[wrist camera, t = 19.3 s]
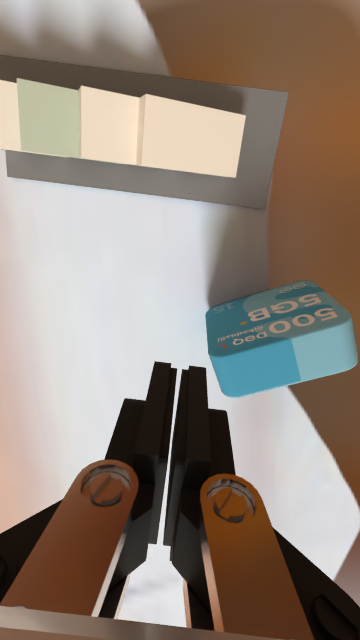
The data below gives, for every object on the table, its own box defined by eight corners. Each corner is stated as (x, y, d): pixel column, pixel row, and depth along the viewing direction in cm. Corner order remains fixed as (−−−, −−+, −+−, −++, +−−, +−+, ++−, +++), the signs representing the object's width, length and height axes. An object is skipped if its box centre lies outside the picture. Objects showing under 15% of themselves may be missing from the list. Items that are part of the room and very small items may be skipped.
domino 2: (124, 164, 33) (22, 150, 29) (126, 104, 31) (18, 83, 27) (128, 164, 31) (21, 150, 28) (131, 101, 29) (16, 77, 26)
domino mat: (10, 176, 34) (7, 176, 34) (1, 56, 30) (-2, 54, 30) (263, 208, 34) (264, 209, 34) (287, 93, 30) (288, 92, 30)
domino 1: (65, 157, 33) (-44, 143, 29) (64, 97, 31) (-53, 73, 27) (68, 157, 31) (-47, 142, 27) (67, 93, 29) (-57, 68, 25)
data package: (309, 277, 37) (358, 318, 26) (316, 313, 38) (366, 367, 27) (204, 308, 39) (208, 359, 28) (215, 342, 40) (223, 403, 29)
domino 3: (174, 170, 33) (78, 157, 29) (180, 111, 31) (78, 90, 27) (182, 170, 31) (81, 157, 28) (188, 108, 29) (81, 85, 26)
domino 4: (225, 176, 33) (135, 164, 29) (234, 118, 31) (139, 98, 27) (235, 177, 31) (141, 165, 28) (245, 115, 29) (145, 93, 26)
